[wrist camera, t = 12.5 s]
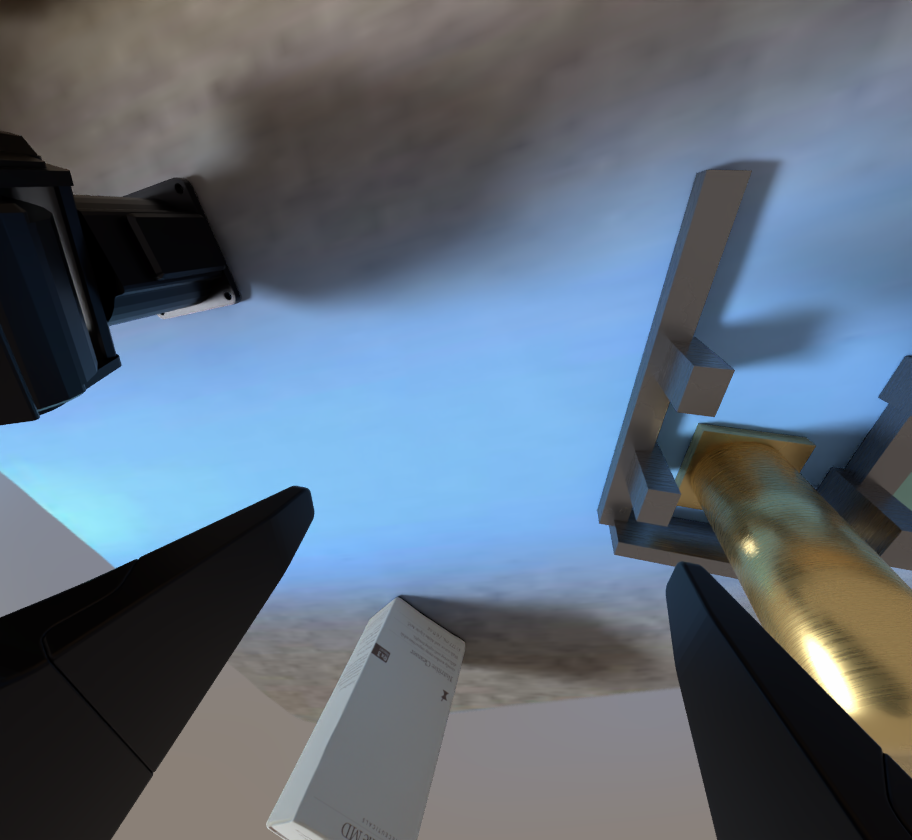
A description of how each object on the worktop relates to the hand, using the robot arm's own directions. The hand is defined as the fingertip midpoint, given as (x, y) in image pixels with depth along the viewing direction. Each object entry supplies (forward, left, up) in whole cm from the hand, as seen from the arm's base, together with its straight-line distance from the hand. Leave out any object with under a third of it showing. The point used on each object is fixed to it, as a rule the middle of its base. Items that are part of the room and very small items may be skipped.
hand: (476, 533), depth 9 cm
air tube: (+11, -8, -13) cm, 18 cm away
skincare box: (-13, -25, -13) cm, 31 cm away
